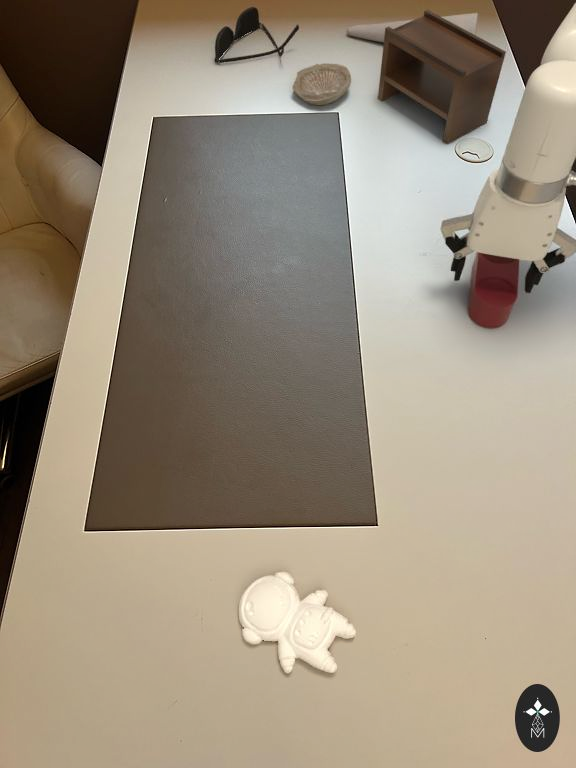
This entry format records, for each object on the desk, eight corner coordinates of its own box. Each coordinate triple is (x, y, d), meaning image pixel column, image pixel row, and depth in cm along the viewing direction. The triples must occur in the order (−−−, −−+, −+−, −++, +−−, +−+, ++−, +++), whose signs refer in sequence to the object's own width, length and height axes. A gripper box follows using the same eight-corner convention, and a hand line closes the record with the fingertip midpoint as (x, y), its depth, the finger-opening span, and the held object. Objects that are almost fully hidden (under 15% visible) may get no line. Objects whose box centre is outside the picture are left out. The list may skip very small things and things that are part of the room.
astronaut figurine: (318, 699, 60) (318, 694, 58) (222, 623, 64) (219, 615, 62) (366, 622, 64) (369, 615, 62) (273, 555, 68) (271, 546, 66)
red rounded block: (473, 255, 93) (480, 233, 90) (511, 261, 92) (520, 239, 89) (466, 324, 86) (473, 303, 82) (507, 331, 85) (516, 310, 81)
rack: (416, 79, 120) (427, 9, 109) (486, 123, 112) (506, 51, 101) (377, 98, 117) (385, 27, 106) (447, 144, 108) (462, 72, 98)
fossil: (289, 110, 116) (287, 96, 114) (303, 74, 122) (301, 60, 120) (344, 113, 114) (343, 99, 112) (355, 76, 120) (355, 62, 117)
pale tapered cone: (338, 31, 122) (475, 27, 116) (346, 8, 126) (479, 4, 120) (341, 69, 128) (471, 68, 122) (348, 47, 133) (474, 44, 126)
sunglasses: (271, 81, 120) (270, 55, 116) (209, 62, 125) (206, 37, 121) (313, 41, 128) (313, 16, 124) (253, 25, 133) (252, -1, 129)
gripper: (606, 167, 74) (555, 271, 88) (459, 147, 76) (432, 251, 90) (610, 208, 69) (556, 310, 84) (453, 185, 72) (426, 288, 86)
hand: (492, 279), depth 87 cm, fingers open, 9 cm apart
